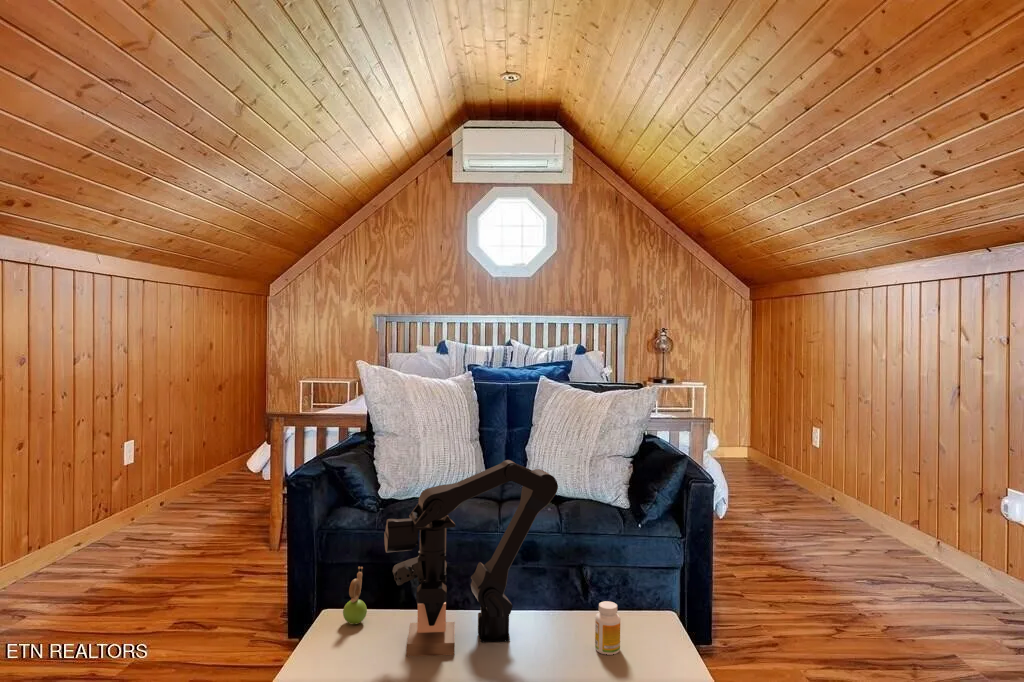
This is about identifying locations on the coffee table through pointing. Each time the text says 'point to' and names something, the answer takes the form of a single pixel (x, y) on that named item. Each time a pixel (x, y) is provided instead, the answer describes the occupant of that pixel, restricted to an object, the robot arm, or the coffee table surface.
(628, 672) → the coffee table surface
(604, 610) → the supplement bottle
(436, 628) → the terracotta cube
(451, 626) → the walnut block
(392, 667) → the coffee table surface
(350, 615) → the snail figurine
